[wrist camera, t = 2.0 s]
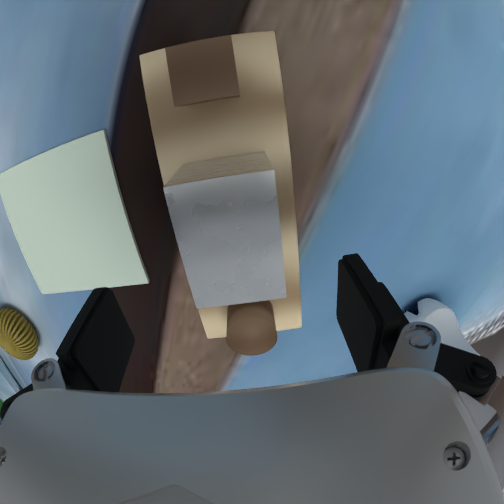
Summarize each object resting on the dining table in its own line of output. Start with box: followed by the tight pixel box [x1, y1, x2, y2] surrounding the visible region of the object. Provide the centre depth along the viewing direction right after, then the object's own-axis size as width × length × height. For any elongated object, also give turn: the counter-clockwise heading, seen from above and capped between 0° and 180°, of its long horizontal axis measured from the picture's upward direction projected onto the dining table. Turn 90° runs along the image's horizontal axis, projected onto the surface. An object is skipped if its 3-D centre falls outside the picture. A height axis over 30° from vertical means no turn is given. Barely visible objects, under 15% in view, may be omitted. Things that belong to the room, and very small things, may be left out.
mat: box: [0, 129, 150, 294], centre depth 22 cm, size 14×14×1 cm
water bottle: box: [404, 298, 504, 497], centre depth 19 cm, size 7×7×25 cm
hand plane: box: [139, 31, 302, 355], centre depth 18 cm, size 22×8×8 cm, turn 7°
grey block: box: [163, 151, 287, 308], centre depth 16 cm, size 7×5×5 cm
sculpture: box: [0, 308, 38, 360], centre depth 27 cm, size 8×4×8 cm
